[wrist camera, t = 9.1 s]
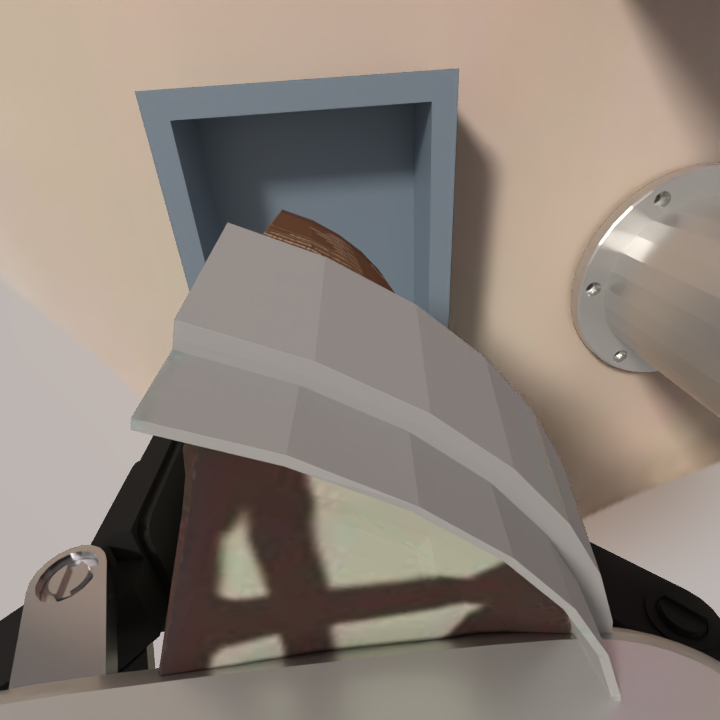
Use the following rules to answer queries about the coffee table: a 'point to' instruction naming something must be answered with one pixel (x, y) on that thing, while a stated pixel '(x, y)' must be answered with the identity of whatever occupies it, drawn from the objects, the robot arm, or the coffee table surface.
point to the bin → (317, 167)
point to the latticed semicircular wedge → (353, 470)
